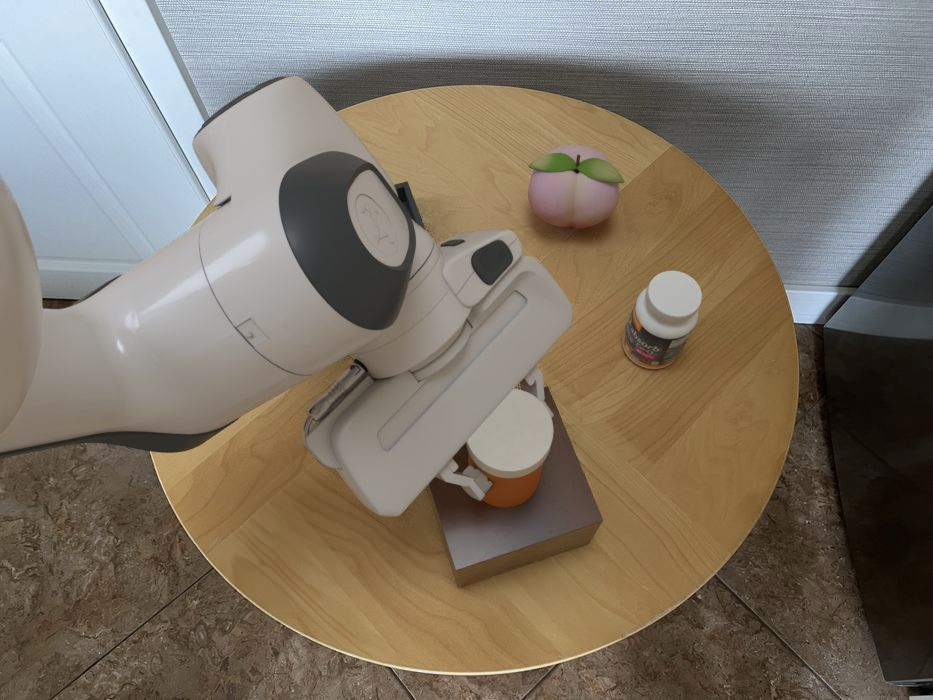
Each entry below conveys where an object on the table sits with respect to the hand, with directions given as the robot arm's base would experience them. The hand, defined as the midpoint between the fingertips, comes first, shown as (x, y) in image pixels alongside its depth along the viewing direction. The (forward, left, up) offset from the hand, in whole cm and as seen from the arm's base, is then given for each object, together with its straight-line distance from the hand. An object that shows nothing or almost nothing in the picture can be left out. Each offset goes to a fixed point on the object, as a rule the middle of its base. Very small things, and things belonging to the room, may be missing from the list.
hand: (513, 455), depth 55 cm
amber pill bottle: (0, +1, -5) cm, 5 cm away
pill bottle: (+19, +11, -14) cm, 25 cm away
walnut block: (0, +1, -13) cm, 13 cm away
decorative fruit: (+17, +28, -14) cm, 35 cm away
